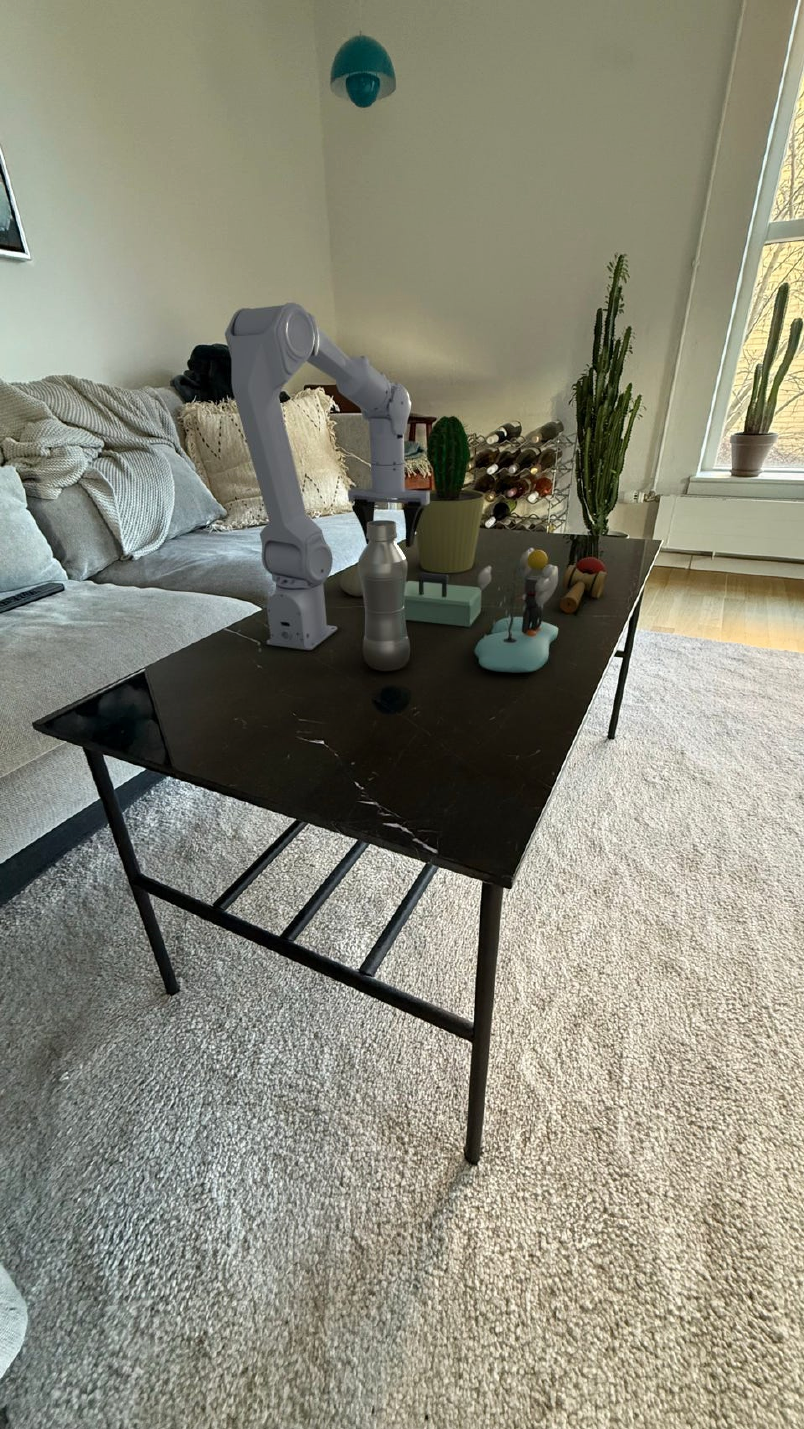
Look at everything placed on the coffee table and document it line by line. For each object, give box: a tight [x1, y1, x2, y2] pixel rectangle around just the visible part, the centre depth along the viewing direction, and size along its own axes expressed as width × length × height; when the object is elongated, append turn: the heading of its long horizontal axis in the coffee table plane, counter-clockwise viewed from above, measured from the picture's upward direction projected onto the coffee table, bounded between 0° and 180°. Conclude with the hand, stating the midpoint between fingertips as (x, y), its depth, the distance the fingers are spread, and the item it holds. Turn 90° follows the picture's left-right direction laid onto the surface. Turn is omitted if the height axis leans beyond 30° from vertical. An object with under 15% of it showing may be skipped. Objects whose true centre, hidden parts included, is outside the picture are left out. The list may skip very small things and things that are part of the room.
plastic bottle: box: [357, 519, 411, 672], centre depth 80 cm, size 6×7×20 cm
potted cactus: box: [415, 415, 486, 574], centre depth 123 cm, size 15×15×30 cm
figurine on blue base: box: [474, 547, 559, 674], centre depth 85 cm, size 20×11×15 cm, turn 156°
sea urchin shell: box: [339, 564, 363, 597], centre depth 115 cm, size 9×8×8 cm
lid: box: [405, 572, 482, 606], centre depth 100 cm, size 8×13×4 cm, turn 70°
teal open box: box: [404, 592, 482, 628], centre depth 102 cm, size 7×13×4 cm, turn 70°
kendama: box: [559, 556, 608, 614], centre depth 108 cm, size 8×6×18 cm
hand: (389, 544), depth 108 cm, fingers open, 7 cm apart
